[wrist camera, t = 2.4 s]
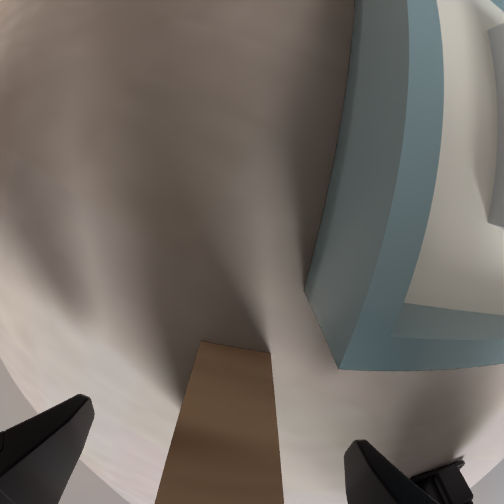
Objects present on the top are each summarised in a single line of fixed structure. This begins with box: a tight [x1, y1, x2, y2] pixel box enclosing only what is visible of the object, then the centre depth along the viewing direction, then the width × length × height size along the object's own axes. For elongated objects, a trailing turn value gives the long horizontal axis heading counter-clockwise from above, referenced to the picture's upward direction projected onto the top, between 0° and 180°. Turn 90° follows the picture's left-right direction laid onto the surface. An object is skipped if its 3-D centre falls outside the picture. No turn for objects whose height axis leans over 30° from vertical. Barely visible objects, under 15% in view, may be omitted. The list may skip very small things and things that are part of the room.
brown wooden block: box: [155, 341, 284, 504], centre depth 6 cm, size 4×2×8 cm, turn 169°
